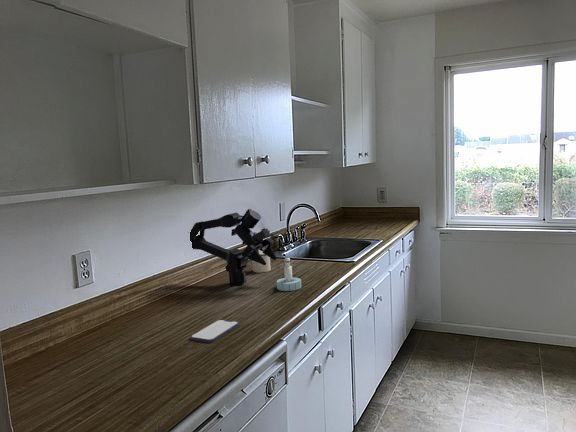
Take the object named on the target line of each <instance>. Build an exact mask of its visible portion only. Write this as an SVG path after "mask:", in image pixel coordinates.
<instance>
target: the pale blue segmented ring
mask: <svg viewBox="0 0 576 432" xmlns="http://www.w3.org/2000/svg"><path fill="white" fill-rule="evenodd" d="M292 280H293V281H292V282H285V277H282V278H279V279H277V280H276V290H279V291H282V292H291V291H296V290H300V289H301V288H302V279H301V278H299V277H293V276H292Z"/></svg>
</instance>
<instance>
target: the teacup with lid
mask: <svg viewBox="0 0 576 432" xmlns="http://www.w3.org/2000/svg"><path fill="white" fill-rule="evenodd" d="M258 250H259V254H260V255H261V257H262V258H263V259H264V260H265V262H266V265H262V264H260V263H258V262H255V261H252V260H251V262H252V263H250V261H249V260H248V263H247V265H248V266H250V267H252V271H253V273H258V274H261V273H262V274H263V273H268V272H270V271H271V258H270V257H268V256H267V255H265V254H264V253H262V252H263V251H261V250H260V249H258Z"/></svg>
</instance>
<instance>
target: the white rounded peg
mask: <svg viewBox="0 0 576 432" xmlns="http://www.w3.org/2000/svg"><path fill="white" fill-rule="evenodd" d="M283 271H284V274H283V275H284V278H285V282H292V281H293V280H292V277H293V266H292V265H291V258H290V257H285V258H284V266H283Z"/></svg>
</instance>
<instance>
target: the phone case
mask: <svg viewBox="0 0 576 432" xmlns="http://www.w3.org/2000/svg"><path fill="white" fill-rule="evenodd" d="M239 327H240V323H239V321H234V320H227V319H219V320H216V321H215V322H213V323H211V324H209V325H208V326H206V327H204V328H202V329H200V330H199V331H197V332H196V333H194V334H192V335H191V336H190V340H191V341H195V342H199V343H206V344H211V343H214V342H217V341H218V340H219V339H221V338H223V337H224V336H226V335H227V334H230V333H231V332H232V331H234V330H236V329H237V328H239Z"/></svg>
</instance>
